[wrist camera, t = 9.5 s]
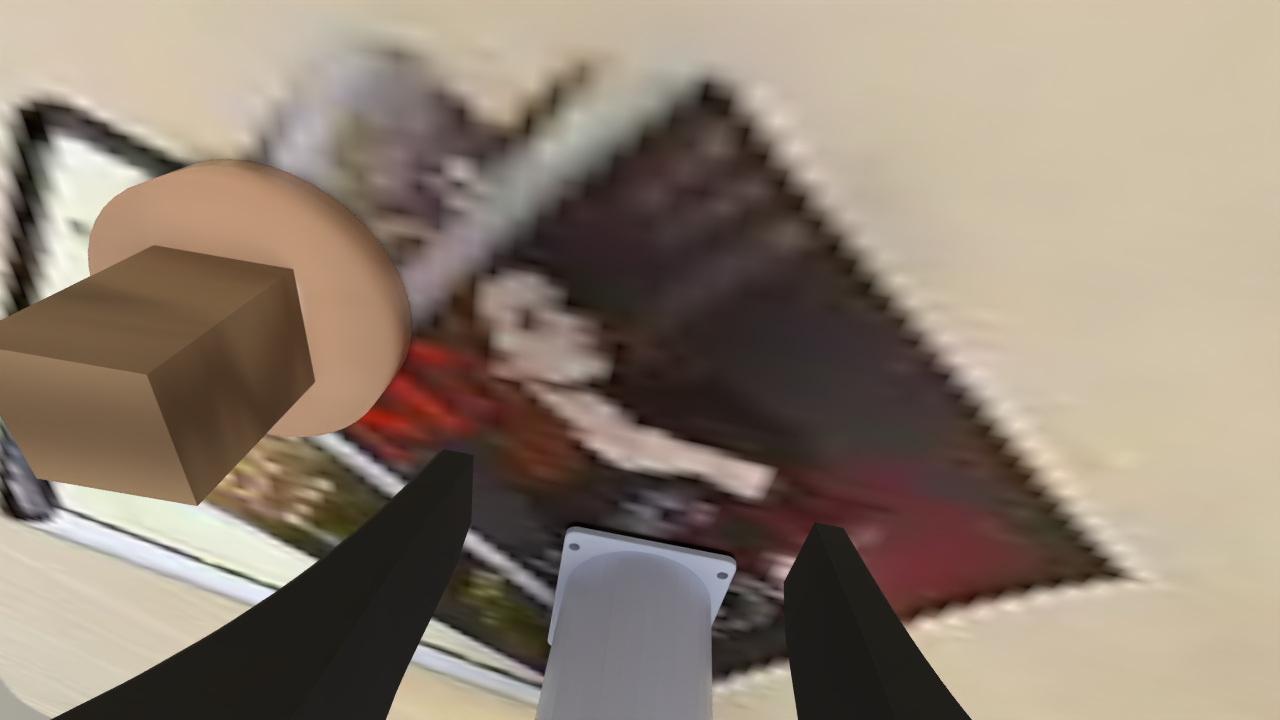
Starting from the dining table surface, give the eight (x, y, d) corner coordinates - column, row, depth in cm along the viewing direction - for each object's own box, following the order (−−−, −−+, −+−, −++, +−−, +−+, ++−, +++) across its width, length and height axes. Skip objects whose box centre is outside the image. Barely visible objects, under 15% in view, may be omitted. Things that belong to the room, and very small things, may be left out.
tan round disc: (423, 416, 25) (398, 456, 23) (190, 376, 25) (144, 412, 23) (406, 184, 20) (371, 209, 18) (107, 132, 20) (36, 151, 18)
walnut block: (315, 381, 21) (197, 505, 16) (192, 360, 21) (36, 478, 16) (293, 268, 19) (146, 374, 14) (154, 244, 19) (-43, 342, 14)
